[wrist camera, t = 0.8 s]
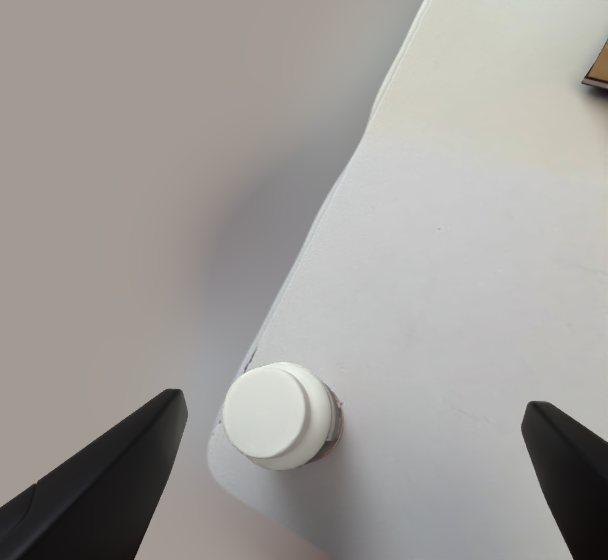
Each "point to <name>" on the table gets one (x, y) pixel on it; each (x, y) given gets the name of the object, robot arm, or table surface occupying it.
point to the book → (599, 71)
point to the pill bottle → (282, 416)
